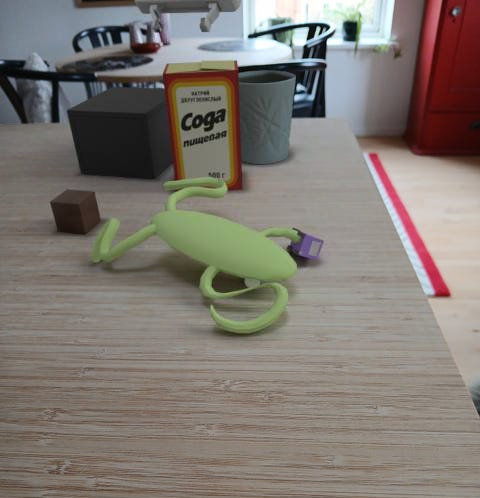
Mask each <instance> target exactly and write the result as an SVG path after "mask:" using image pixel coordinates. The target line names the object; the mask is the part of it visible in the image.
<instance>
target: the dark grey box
mask: <svg viewBox="0 0 480 498" xmlns="http://www.w3.org/2000/svg"><path fill="white" fill-rule="evenodd" d="M66 114H67V119H68V123H69V127H70V132H71V136H72V140H73V145H74V149H75V155H76V158H77V163H78V167H79V171H80V175H81V174H82V175H93V176H109V177H121V178H135V179H149V180H155V179H157V177H158V176H160V175H161V174H162V173H163V171H165V170H166V169H167V168H169V166H171V164H173V159H172V150H171V142H170V133H169V124H168V116H167V107H166V98H165V90H164V87H163V88H162V87H129V86H128V87H127V86H126V87H124V86H123V87H122V86H111V87H109V88H107V89H105V90H103V91H102V92H99V93H97V94H96V95H93V96H92V97H89V98H88V99H86V100H84V101H82V102H80V103H78V104H76V105H75V106H72V107H71V108H68V109H66Z"/></svg>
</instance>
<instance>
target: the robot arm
mask: <svg viewBox="0 0 480 498" xmlns="http://www.w3.org/2000/svg"><path fill="white" fill-rule="evenodd" d="M133 1H134V3H135V5H136V6H137V9H138V10H139V11H140V12H141V14H143V15H151V19H152V23H151V29H152V31H153V33H155V34H157V33H159V34H161V33H163V31H164V30H163V29H164V26H165V24H164V22H163V21H162V19H161V16H162V14H194V13H195V14H197V13H199V14H201V13H207V14H206V16H204V17H200V20H199V21H200V22H199V30H200V31H201V33H210V32H211V28H212V25H213V24H214V23H215V21H216V20H217V19H218V18H219V17H220V13H234V12H236V11H237V10H238V9H239V8H240V7H241V2H242V0H133Z"/></svg>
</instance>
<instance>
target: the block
mask: <svg viewBox="0 0 480 498" xmlns="http://www.w3.org/2000/svg"><path fill="white" fill-rule="evenodd" d="M49 204H50V208H51V212H52V215H53V219H54V222H55V226H56V230H57V232H61V233H69V234H70V233H71V234H80V235H81V234H82V235H87V234H88V233H89V232H90V231H91V230H92V229H94V227H96V226H97V225H98V224H99V223H100V222H101V214H100V209H99V205H98V200H97V195H96V192H95V190H94V191H92V190H80V189H70V188H69V189H68V188H66V189H65V190H64V191H62V192H61V193H60V194H59V195H57V196H56V197H54V198H52V200H50V201H49Z"/></svg>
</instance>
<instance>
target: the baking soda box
mask: <svg viewBox="0 0 480 498" xmlns="http://www.w3.org/2000/svg"><path fill="white" fill-rule="evenodd" d="M239 73H240V72H239V65H238V60H237V59H236V60H235V59H234V60H233V59H231V60H201V61H195V62H192V61H191V62H173V63H169V62H168V63H166V65H165V67H164V70H163V72H162V80H163V88H164V90H165V98H166V107H167V116H168V124H169V133H170V142H171V150H172V159H173V162H172V166H173V176H174V181H178V180H185V179H194V178H202V177H213V178H218V179H220V180H222V181H223V182H225V184H226V186H227V188H228V189H227V191H236V190H237V191H240V190H243V164H242V162H243V161H242V159H241V130H240V101H239ZM199 187H204V188H213V189H217V188H215V187H211V186H199ZM183 189H184V188H183ZM179 190H182V189H176V190H175V192H177V191H179Z"/></svg>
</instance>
